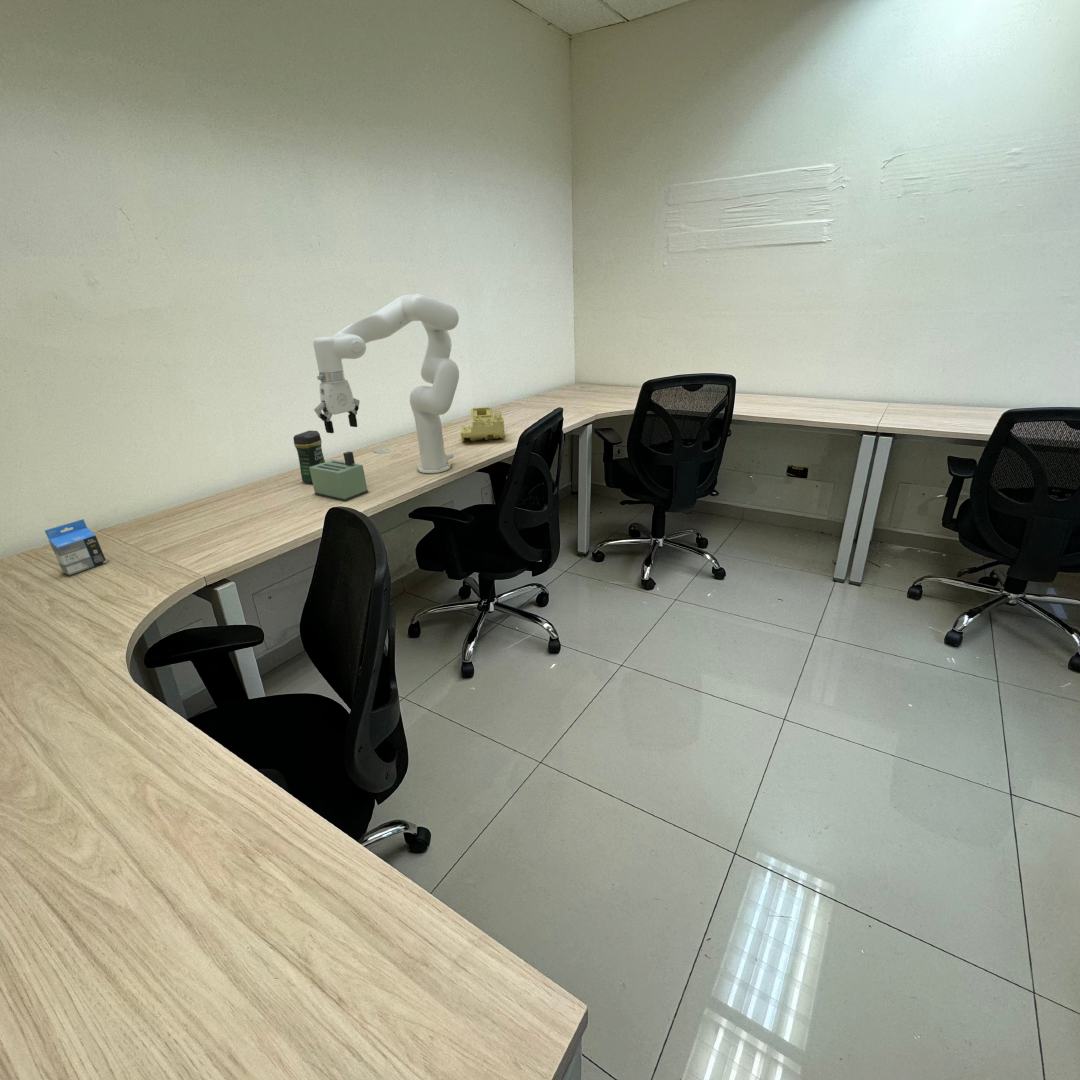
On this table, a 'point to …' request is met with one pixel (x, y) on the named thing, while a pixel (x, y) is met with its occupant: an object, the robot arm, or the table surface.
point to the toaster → (338, 480)
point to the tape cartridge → (75, 547)
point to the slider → (349, 458)
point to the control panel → (484, 425)
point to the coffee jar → (308, 452)
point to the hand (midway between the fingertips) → (342, 429)
